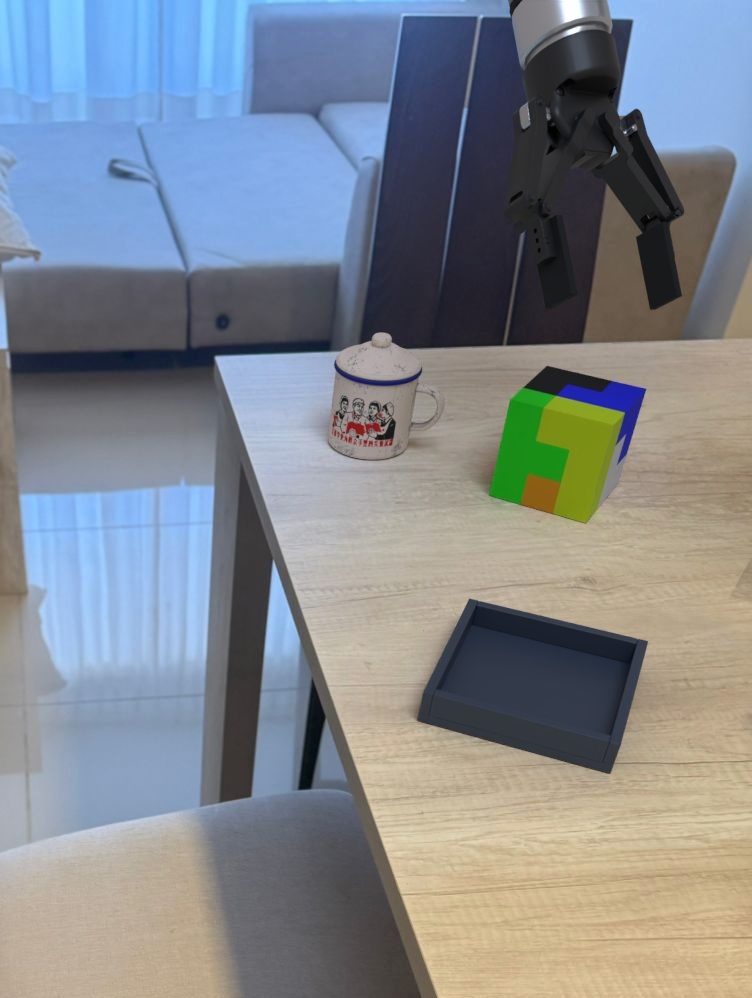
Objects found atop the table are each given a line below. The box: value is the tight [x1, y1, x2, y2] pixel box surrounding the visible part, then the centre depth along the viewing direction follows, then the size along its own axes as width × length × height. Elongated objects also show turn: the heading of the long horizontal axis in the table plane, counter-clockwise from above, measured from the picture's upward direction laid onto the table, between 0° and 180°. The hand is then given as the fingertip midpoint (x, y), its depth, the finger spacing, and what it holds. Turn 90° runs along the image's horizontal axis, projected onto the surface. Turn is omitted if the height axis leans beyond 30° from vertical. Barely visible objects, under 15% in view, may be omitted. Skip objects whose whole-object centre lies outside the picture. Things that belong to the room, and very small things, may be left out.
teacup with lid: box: [327, 332, 446, 461], centre depth 121 cm, size 12×9×12 cm
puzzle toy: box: [488, 365, 647, 524], centre depth 114 cm, size 10×10×10 cm
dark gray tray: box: [417, 598, 649, 775], centre depth 91 cm, size 15×15×3 cm
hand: (615, 303), depth 98 cm, fingers open, 13 cm apart
